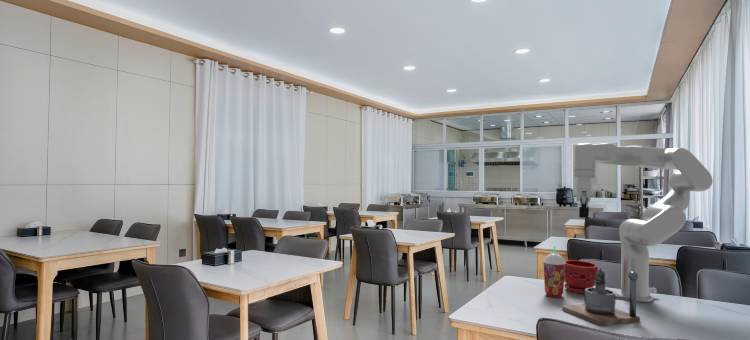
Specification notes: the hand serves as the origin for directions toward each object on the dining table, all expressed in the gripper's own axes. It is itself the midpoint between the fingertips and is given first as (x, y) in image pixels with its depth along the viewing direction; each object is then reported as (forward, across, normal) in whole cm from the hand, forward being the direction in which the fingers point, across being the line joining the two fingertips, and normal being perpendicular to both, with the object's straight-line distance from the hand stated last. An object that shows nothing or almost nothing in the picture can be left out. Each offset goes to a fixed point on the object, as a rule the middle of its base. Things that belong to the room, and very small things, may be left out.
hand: (584, 216), depth 173 cm
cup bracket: (+32, +23, +6) cm, 40 cm away
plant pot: (+33, -10, -1) cm, 34 cm away
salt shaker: (+28, +22, +6) cm, 36 cm away
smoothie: (+32, +4, -11) cm, 34 cm away
